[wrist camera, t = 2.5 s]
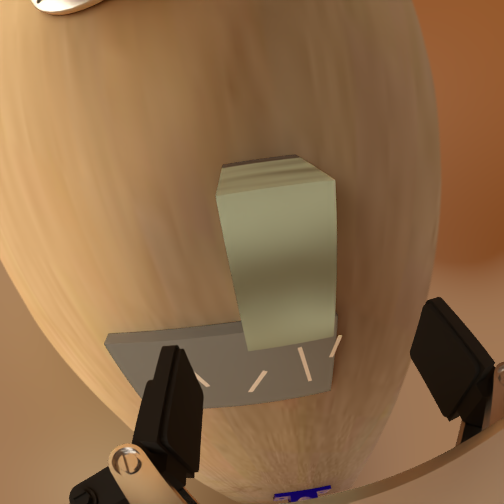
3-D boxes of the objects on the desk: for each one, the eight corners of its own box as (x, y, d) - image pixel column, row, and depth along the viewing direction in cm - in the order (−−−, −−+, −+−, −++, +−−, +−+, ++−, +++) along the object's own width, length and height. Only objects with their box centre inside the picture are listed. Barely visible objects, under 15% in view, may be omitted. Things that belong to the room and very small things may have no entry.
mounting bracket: (273, 496, 64) (274, 511, 59) (274, 493, 61) (276, 508, 55) (325, 488, 65) (328, 502, 60) (330, 484, 62) (333, 499, 56)
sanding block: (222, 164, 18) (215, 196, 11) (295, 154, 18) (335, 179, 11) (242, 276, 22) (248, 351, 15) (304, 267, 22) (333, 336, 15)
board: (108, 333, 24) (103, 344, 23) (339, 304, 24) (344, 314, 23) (151, 399, 30) (149, 409, 29) (332, 380, 30) (335, 389, 28)
